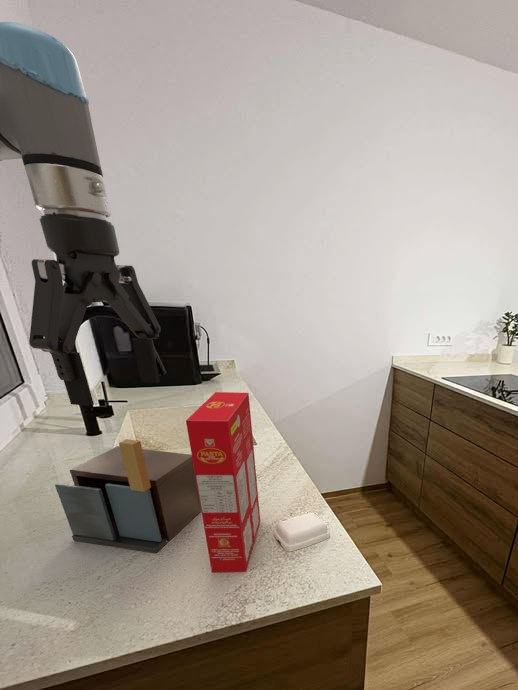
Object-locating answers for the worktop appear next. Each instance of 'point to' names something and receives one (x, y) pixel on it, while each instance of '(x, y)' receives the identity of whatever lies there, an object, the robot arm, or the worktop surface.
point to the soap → (301, 531)
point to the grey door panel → (134, 497)
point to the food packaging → (226, 478)
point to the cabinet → (108, 468)
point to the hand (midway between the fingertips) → (120, 392)
